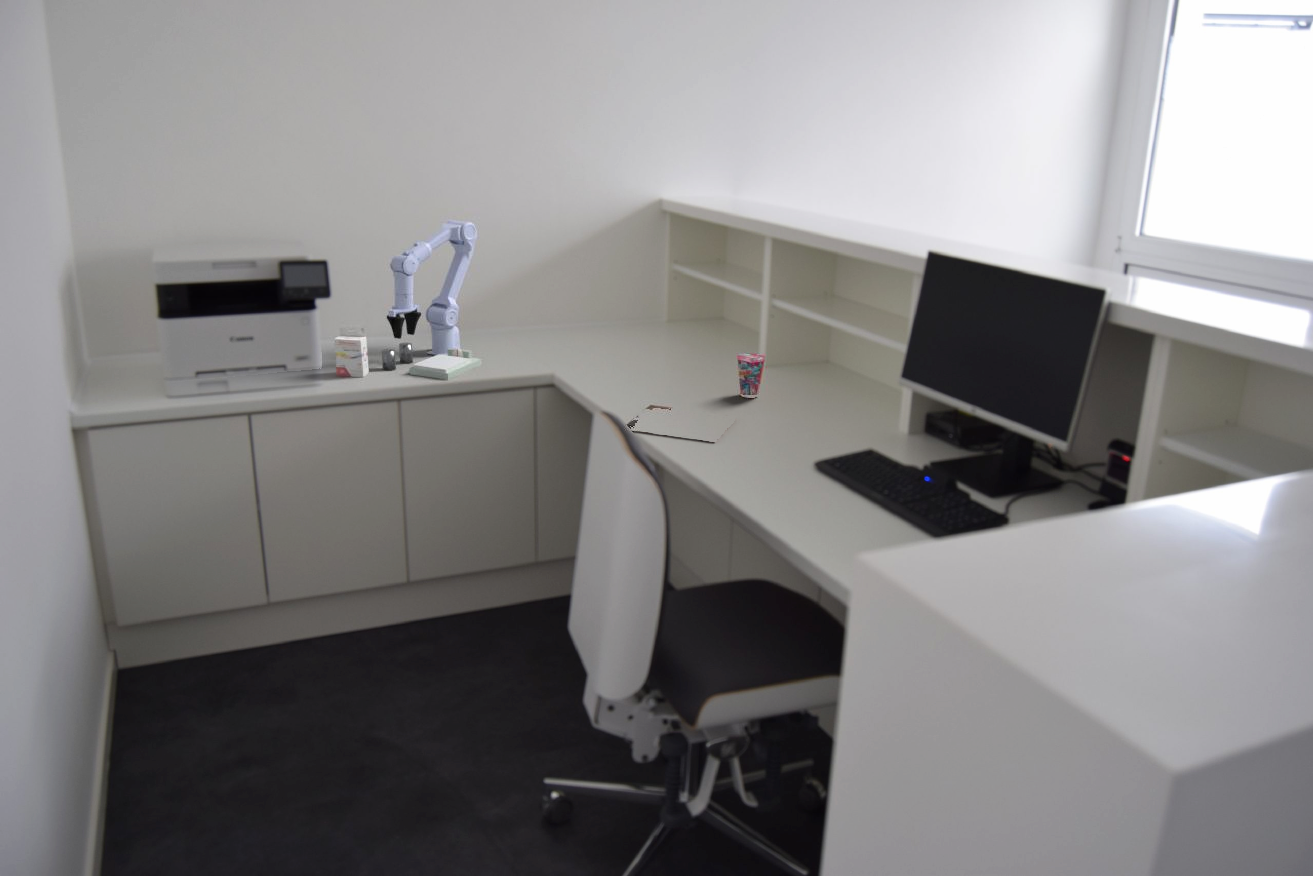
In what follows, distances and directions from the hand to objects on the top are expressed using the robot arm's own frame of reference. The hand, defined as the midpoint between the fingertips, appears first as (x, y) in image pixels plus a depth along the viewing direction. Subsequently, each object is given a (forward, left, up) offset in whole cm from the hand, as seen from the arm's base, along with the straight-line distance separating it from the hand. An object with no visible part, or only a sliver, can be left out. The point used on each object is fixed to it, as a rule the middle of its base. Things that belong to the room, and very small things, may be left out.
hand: (404, 336), depth 317 cm
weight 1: (+9, 0, -9) cm, 12 cm away
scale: (+1, +16, -9) cm, 18 cm away
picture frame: (+19, +102, -10) cm, 104 cm away
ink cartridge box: (+19, -6, -9) cm, 21 cm away
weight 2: (0, 0, -9) cm, 9 cm away
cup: (-14, +111, -9) cm, 112 cm away
